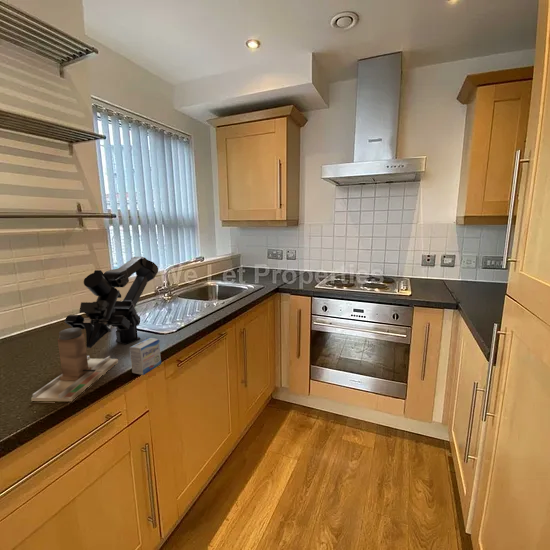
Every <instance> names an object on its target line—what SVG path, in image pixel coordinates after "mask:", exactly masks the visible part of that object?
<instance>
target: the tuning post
mask: <svg viewBox="0 0 550 550" xmlns="http://www.w3.org/2000/svg"><path fill="white" fill-rule="evenodd" d="M58 334H59V338H57V347H58V352H59V357H60V359H59V360H60V366H61V367H60V368H61V372H62V373H61V374H63V375H62V376H60V380H70V381H77V380H78V379H79V378H81V377H82V376H83V375H84V374H86V373H87V372H88V371H93V372H94V371H95V370H91V367H88V361H87V356H88V355H87V346H86V338H85V333H82V329H81V328H72V327H69V328H65V329H62V330H60V331H59V332H58Z"/></svg>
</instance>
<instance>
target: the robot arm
mask: <svg viewBox="0 0 550 550" xmlns="http://www.w3.org/2000/svg"><path fill="white" fill-rule="evenodd" d="M134 273H135V275H136V277H135V278H134V280H133V282H132V283H131V286H130V287H129V289H128V291H127V292H126V294H125V296H124V298H123V299H122V300H118V299H121V298H122V294H121V292H120V290H119V289H117V288H125V287H126V286H127V284H128V283H129V282H130V280H129V278H130V277H131V276H132V275H134ZM158 273H159V267H158V265H157V264H156V263H155V262H154V261H151V260H149V259H147V258H146V257H144V256H133V257H131V259H129V260H128V261H127V262H125V263H124V264H123V265H120V266H119V267H117V268H114V269H109V270H107V271H105V272H103V271H102V269H100V270H99V269H97V270H96V269H95V270H94V271H93V273H90V274H89V275H87V276H86V277H84V279H83V285H84V286H85V287H86V288H87V289H88V290H89V291H90V292H91V293H92V294H93V295H95V296H96V297H97V299H96V301H92V302H87V301H86V302H85V301H82V302H80V306H79V311H78V312H79V314H69V315H67V316H66V317H65V320H64V323H66V325H68V326H69V327H70V328H81V330H84V329H85V335H86V336H85V337H86V338H85V346H86V349H87V348H88V349H91V348H92V347H93V346H94V345H95V344H96V343H97V342H99V341H100V339H102V338H103V337H104V336H106V334H108V333H110V332H112V329H111V328H114V327H116V331H115V335H116V336H115V337H116V338H115V342H118V343H120V344H123V345H127V344H128V345H129V344H130V343H133V342H136V341H138V340H141V337H140V336H138V326H140V323H141V317H140V315H139V314H138V312H137V309H136V306H137V304H138V303H139V300H140V298H141V297H142V294H143V292H144V290H145V288H146V287H147V284H148V283H149V282H150V281H152V280H154V279H155V277H156V276H157V274H158ZM81 314H85V316H86V317H83V316H82V315H81Z"/></svg>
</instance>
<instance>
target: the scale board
mask: <svg viewBox="0 0 550 550" xmlns="http://www.w3.org/2000/svg"><path fill="white" fill-rule="evenodd" d="M87 361H88V367H91V370H95V371H94V372H93V371H88V372H87V373H86V374H84V375H83V376H82V377H81V378H79V379H78V380H77V381H70V380H60V376H62V375H63V374H62V373H61V374H60V375H58V376H56V377H55V378H54V379H52V380H51V381H50V382H48V383H47V384H45V385H43V386H42V387H41V388H39V389H37V391H35V392H34V393H32V394H31V395H32V396H31V402H32V401H72V400H73V399H75V398H76V397H77V396H78V395H79V394H80V393H81V392H83V391H84V390H85V389H86V388H87V387H89V386H90V385H91V384H92V383H94V382H95V381H96V380H97V379H98V380H100V379H101V378H102V377H103V376H104V375H106V374H107V373H108V372H109V371H110V370H111V369H112V368H113V367H115V366H116V365H117V364H119V359H118V358H111V355H108V356H107V357H105V358H91V356H90V355H87ZM114 365H115V366H114ZM108 370H109V371H108ZM107 371H108V372H107ZM106 372H107V373H106ZM102 375H103V376H102ZM101 376H102V377H101ZM100 377H101V378H100ZM99 378H100V379H99ZM98 380H97V381H98ZM97 381H96V382H97ZM96 382H95V383H96ZM95 383H94V384H95ZM91 386H92V385H91ZM91 386H90V387H91ZM90 387H89V388H90ZM84 392H85V391H84ZM84 392H83V393H84ZM77 398H78V397H77ZM77 398H76V399H77ZM76 399H75V400H76Z"/></svg>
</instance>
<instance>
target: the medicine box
mask: <svg viewBox="0 0 550 550" xmlns="http://www.w3.org/2000/svg"><path fill="white" fill-rule="evenodd" d="M160 346H161V345H160V339H158V338H154V337H148V338H146V339H144V340H142V341H140V342H137V343H136V344H134V345H132V346H129V355H130V361H131V362H130V364H131V373H132V374H136V375H140V376H145V375H146V374H148V373H150V372H151V371H152V370H154V369H155V368H157V367H159V366H160V365H162V359H161V358H162V357H161V347H160Z"/></svg>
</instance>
